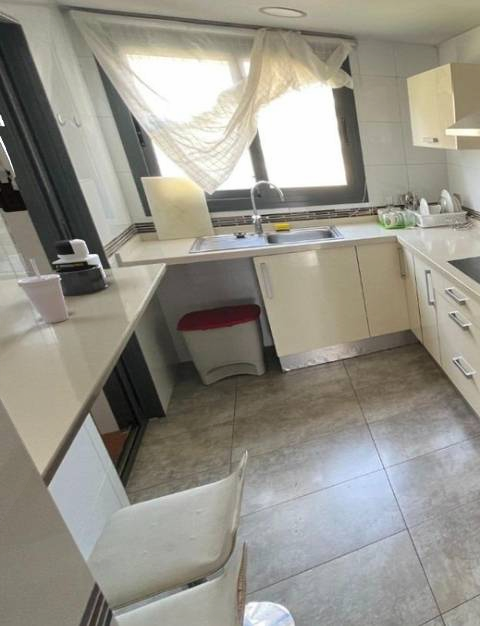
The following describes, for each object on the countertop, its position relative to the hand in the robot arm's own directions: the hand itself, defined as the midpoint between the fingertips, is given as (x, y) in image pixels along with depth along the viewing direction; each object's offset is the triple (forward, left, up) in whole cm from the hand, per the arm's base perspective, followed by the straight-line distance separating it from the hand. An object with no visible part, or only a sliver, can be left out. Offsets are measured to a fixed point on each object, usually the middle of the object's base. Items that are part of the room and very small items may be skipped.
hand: (12, 209), depth 93 cm
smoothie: (-1, 0, -24) cm, 24 cm away
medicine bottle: (-2, +34, -24) cm, 42 cm away
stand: (0, +25, -24) cm, 35 cm away
